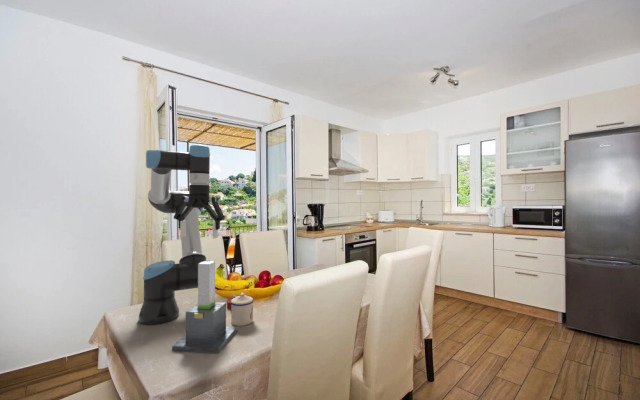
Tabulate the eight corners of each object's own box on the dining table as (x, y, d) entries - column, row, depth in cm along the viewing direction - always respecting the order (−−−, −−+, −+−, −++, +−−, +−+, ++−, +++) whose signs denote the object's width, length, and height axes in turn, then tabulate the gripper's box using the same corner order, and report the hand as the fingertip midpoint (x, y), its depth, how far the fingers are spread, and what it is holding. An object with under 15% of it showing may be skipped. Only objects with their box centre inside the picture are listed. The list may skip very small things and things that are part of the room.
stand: (172, 350, 97) (172, 314, 97) (197, 329, 113) (197, 298, 113) (217, 353, 95) (217, 317, 95) (236, 331, 111) (236, 300, 111)
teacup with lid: (255, 323, 118) (255, 295, 118) (232, 328, 114) (232, 298, 114) (249, 313, 129) (249, 287, 129) (228, 316, 125) (228, 289, 125)
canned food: (236, 311, 143) (242, 291, 147) (250, 314, 137) (256, 292, 141) (218, 307, 135) (225, 285, 139) (232, 309, 129) (239, 286, 133)
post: (197, 320, 102) (197, 263, 102) (203, 315, 106) (203, 261, 106) (209, 321, 102) (209, 264, 101) (215, 316, 106) (215, 261, 106)
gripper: (164, 183, 113) (163, 237, 114) (225, 184, 111) (224, 240, 111) (175, 184, 121) (175, 234, 121) (233, 185, 118) (232, 237, 119)
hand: (199, 237), depth 116 cm, fingers open, 13 cm apart
